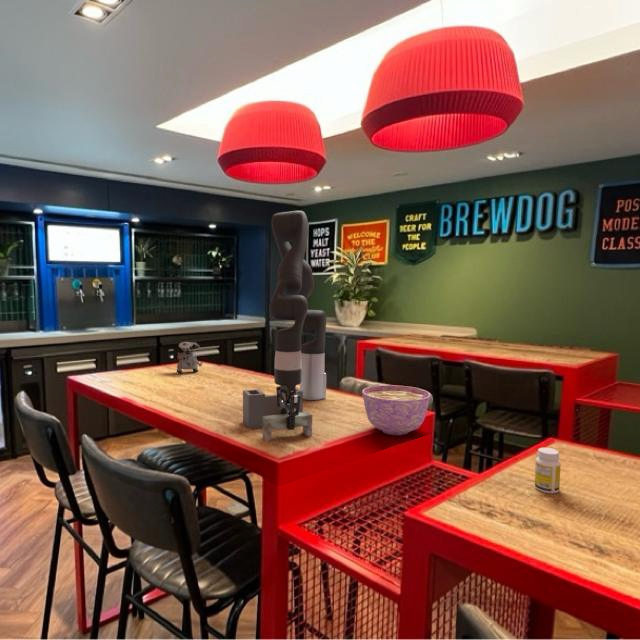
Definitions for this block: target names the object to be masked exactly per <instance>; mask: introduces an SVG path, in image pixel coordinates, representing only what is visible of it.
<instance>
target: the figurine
mask: <svg viewBox="0 0 640 640" xmlns="http://www.w3.org/2000/svg"><path fill="white" fill-rule="evenodd" d="M178 347H179V348H180V349H181V350H180V351H178V352H177V360H179V361H178V362H177V363H176V364H177V365H176V366H177V367H176V373H177V372H178V373H177V374H179V373H182V374H183V370H193V371H195V372H198V373H199V370H198V366H199V367H202V366H203V362H200V361H198V359H197V356H198V355H197V354H196V353H195V352H194V351H196V350H200V347H201V346H200V345H199V343H198V342H189V341H184V342H180V343H179V344H178ZM182 351H183V352H182ZM193 371H192V372H193ZM195 372H194V373H195Z"/></svg>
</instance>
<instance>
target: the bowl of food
mask: <svg viewBox="0 0 640 640" xmlns="http://www.w3.org/2000/svg"><path fill="white" fill-rule="evenodd" d="M361 393H362V399H363V403H364V408H365V413H366V416H367V420H368V421H369V424H371V425H372V426H373V427H375V428H376V429H377V430H380V431H381V430H382V431H383V432H382V431H381V432H382V433H384V434H387V435H392V436H403V435H407V434H409V433H410V432H412V431H415V430H417V429H419V428H420V426H421V425H422V424H423V422H424V420H425V418H426V415H427V411H428V408H429V403H430V400H431V395H432V394H431V393H430V392H429V391H427V390H425V389H422V388H419V387H414V386H408V385H407V386H405V385H397V384H395V385H393V384H385V385H380V384H378V385H372V386H368V387H365V388H363V389H362V391H361Z"/></svg>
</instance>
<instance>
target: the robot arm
mask: <svg viewBox="0 0 640 640" xmlns="http://www.w3.org/2000/svg"><path fill="white" fill-rule="evenodd" d="M271 217H272V218H271V229H272V234H273V237H274V240H275V243H276V246H277V249H278V252H279V254H280V258H281V261H280V262H279V265H278V269H277V282H276V283H277V284H276V287H275V291H274V292H273V295H272V297H271V300H270V301H269V302H270V303H269V306H268V311H269V315H270V317H271V318H272V319H274V320H276V321H294V324H293V325H291V326H290V327H287V328H281V329H278V330H277V331H276V333H275V353H274V354H275V355H274V384H275V385H277V386H276V394H277V406H278V407H279V410H280V414H286V415H287V428H286V430H287V431H291V430H295V429H296V427H295V416H297V415H299V406H300V395H297V392H296V388H295V387H296V386H299V389H300V390H302V391H303V400H304V401H305V400H307V401H318V400H319V401H320V400H323V399H326V398H327V373H326V371H325V358H326V357H325V356H326V355H325V348H326V329H327V315H326V312H325V311H324V310H320V309H309V303H308V300H309V297H310V296H311V295H312V293H313V290H314V288H315V280H314V275H313V269H312V268H311V267H312V266H311V265H310V264H309V263H308V262H307V261H306V260H305V253H306V250H307V244H308V243H307V242H308V238H309V222H308V216H307V214H306V213H305V211H303V210H292V211H283V212H277V213H275V214H273V215H272V216H271ZM290 242H294V243H293V244H292V245H291V244H290ZM302 335H315V336H314V338H313V339H312V340H310V341H309V342H305V343H303V344H302ZM289 404H290V405H289ZM292 409H293V411H292Z"/></svg>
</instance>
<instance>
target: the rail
mask: <svg viewBox="0 0 640 640" xmlns="http://www.w3.org/2000/svg"><path fill="white" fill-rule="evenodd" d="M299 427H300V428H301V427H302V433H303V434H304V435H305V434H306V437H312V436H313V414H312V413H311V412H310V411H304V412H301V413H299V415H297V416H295V428H299ZM261 428H262V438H263V439H264V440H265V441H266V442H272V431H273V430H275V431H276V430H283V429H287V415H286V414H280V415H270V416H262V427H261Z"/></svg>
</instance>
